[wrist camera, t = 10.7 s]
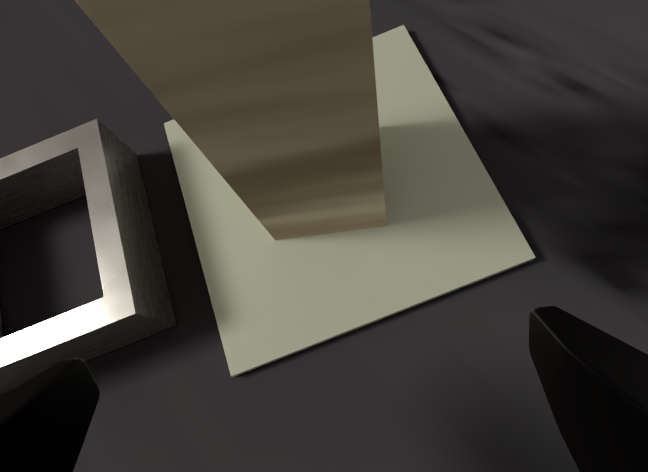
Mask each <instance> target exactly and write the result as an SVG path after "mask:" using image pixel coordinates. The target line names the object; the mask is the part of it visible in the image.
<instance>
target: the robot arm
mask: <svg viewBox="0 0 648 472" xmlns="http://www.w3.org/2000/svg"><path fill="white" fill-rule="evenodd" d="M529 349H530V354H531V357H532V360H533V362H534V365H535V368H536V370H537V373H538V376H539V378H540V381H541V383H542V386H543V389H544V391H545V394H546V397H547V399H548V402H549V405H550V407H551V410H552V412H553V415H554V418H555V420H556V423H557V425H558V428H559V430H560V433H561V435H562V437H563V439H564V441H565V443H566V445H567V447H568V449H569V451H570V453H571V455H572V457H573V459H574V461H575V462H576V464H577V466H578V468H579V470H580V472H648V355H647V354H645V353H643V352H642V351H640V350H638V349H636V348H634V347H632V346H630V345H628V344H626V343H624V342H622V341H621V340H619V339H617V338H615V337H613V336H611V335H609V334H607V333H605V332H603V331H602V330H600V329H598V328H596V327H594V326H592V325H590V324H588V323H586V322H584V321H583V320H581V319H579V318H577V317H575V316H573V315H571V314H569V313H567V312H565V311H563V310H562V309H560V308H558V307H555V306H548V307H539V308H533V309H532V310H531V312H530V320H529ZM98 400H99V387H98V385H97V383H96V381H95V379H94V377H93V375H92V373H91V371H90V369H89V367H88V365H87V363H86V362H85V361H84V360H83V359H80V358H77V359H67V360H62V361H60V362H58V363H56V364H54V365H53V366H51V367H50V368H48V369H46V370H45V371H43V372H41V373H40V374H38V375H37V376H35V377H33V378H32V379H30V380H28V381H27V382H25V383H23V384H22V385H20V386H19V387H17V388H15V389H14V390H12V391H10V392H9V393H7V394H6V395H4V396H2V397H1V398H0V472H73V470H74V467H75V464H76V462H77V459H78V456H79V454H80V451H81V448H82V445H83V442H84V439H85V437H86V434H87V431H88V428H89V425H90V423H91V420H92V417H93V414H94V411H95V409H96V406H97V403H98Z"/></svg>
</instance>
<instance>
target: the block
mask: <svg viewBox="0 0 648 472" xmlns="http://www.w3.org/2000/svg"><path fill="white" fill-rule="evenodd" d="M75 1H76V2H77V4H78V5H79V6H80V7H81V8H82V10H83V11H84V12H85V13H86V14H87V16H88V17H89V18H90V19H91V20H92V22H93V23H94V24H95V25H96V26H97V28H98V29H99V30H100V31H101V32H102V34H103V35H104V36H105V37H106V38H107V40H108V41H109V42H110V43H111V44H112V46H113V47H114V48H115V49H116V50H117V51H118V53H119V54H120V55H121V56H122V57H123V59H124V60H125V61H126V62H127V63H128V65H129V66H130V67H131V68H132V69H133V71H134V72H135V73H136V74H137V75H138V77H139V78H140V79H141V80H142V81H143V83H144V84H145V85H146V86H147V87H148V89H149V90H150V91H151V92H152V93H153V95H154V96H155V97H156V98H157V99H158V101H159V102H160V103H161V104H162V105H163V107H164V108H165V109H166V110H167V111H168V113H169V114H170V115H171V116H172V117H173V119H174V120H175V121H176V122H177V123H178V125H179V126H180V127H181V128H182V129H183V131H184V132H185V133H186V134H187V135H188V137H189V138H190V139H191V140H192V141H193V142H194V144H195V145H196V146H197V147H198V148H199V150H200V151H201V152H202V153H203V154H204V156H205V157H206V158H207V159H208V160H209V162H210V163H211V164H212V165H213V166H214V168H215V169H216V170H217V171H218V172H219V174H220V175H221V176H222V177H223V178H224V180H225V181H226V182H227V183H228V184H229V186H230V187H231V188H232V189H233V190H234V192H235V193H236V194H237V195H238V196H239V198H240V199H241V200H242V201H243V202H244V204H245V205H246V206H247V207H248V208H249V210H250V211H251V212H252V213H253V214H254V216H255V217H256V218H257V219H258V220H259V222H260V223H261V224H262V225H263V226H264V227H265V229H266V230H267V231H268V232H269V233H270V235H271V236H272V237H273V238H274V239H275V240H282V239H290V238H298V237H305V236H313V235H321V234H328V233H336V232H344V231H351V230H359V229H366V228H374V227H382V226H387V223H386V210H385V197H384V184H383V171H382V158H381V145H380V132H379V118H378V105H377V92H376V79H375V66H374V53H373V40H372V27H371V14H370V0H75Z"/></svg>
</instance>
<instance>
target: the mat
mask: <svg viewBox="0 0 648 472" xmlns="http://www.w3.org/2000/svg"><path fill="white" fill-rule="evenodd" d="M372 40H373V53H374V66H375V79H376V92H377V105H378V118H379V132H380V145H381V158H382V171H383V184H384V197H385V210H386V223H387V226H382V227H374V228H366V229H359V230H351V231H344V232H336V233H328V234H321V235H313V236H305V237H298V238H290V239H282V240H275V239H274V238H273V237H272V236H271V235H270V233H269V232H268V231H267V230H266V229H265V227H264V226H263V225H262V224H261V223H260V222H259V220H258V219H257V218H256V217H255V216H254V214H253V213H252V212H251V211H250V210H249V208H248V207H247V206H246V205H245V204H244V202H243V201H242V200H241V199H240V198H239V196H238V195H237V194H236V193H235V192H234V190H233V189H232V188H231V187H230V186H229V184H228V183H227V182H226V181H225V180H224V178H223V177H222V176H221V175H220V174H219V172H218V171H217V170H216V169H215V168H214V166H213V165H212V164H211V163H210V162H209V160H208V159H207V158H206V157H205V156H204V154H203V153H202V152H201V151H200V150H199V148H198V147H197V146H196V145H195V144H194V142H193V141H192V140H191V139H190V138H189V137H188V135H187V134H186V133H185V132H184V131H183V129H182V128H181V127H180V126H179V125H178V123H177V122H176V121H175V120H171V121H169V122H166V123H164V126H165V130H166V134H167V138H168V141H169V145H170V149H171V153H172V156H173V160H174V164H175V168H176V171H177V175H178V179H179V183H180V186H181V190H182V194H183V198H184V201H185V205H186V209H187V213H188V216H189V220H190V224H191V228H192V231H193V235H194V239H195V243H196V246H197V250H198V254H199V258H200V261H201V265H202V269H203V273H204V276H205V280H206V284H207V288H208V291H209V295H210V299H211V303H212V306H213V310H214V314H215V318H216V321H217V325H218V329H219V333H220V337H221V340H222V344H223V348H224V352H225V355H226V359H227V363H228V367H229V370H230V374H231V376H233V377H235V376H238V375H240V374H243V373H245V372H248V371H251V370H253V369H256V368H258V367H261V366H263V365H266V364H268V363H271V362H274V361H276V360H279V359H281V358H284V357H286V356H289V355H291V354H294V353H297V352H299V351H302V350H304V349H307V348H309V347H312V346H315V345H317V344H320V343H322V342H325V341H327V340H330V339H332V338H335V337H338V336H340V335H343V334H345V333H348V332H350V331H353V330H355V329H358V328H361V327H363V326H366V325H368V324H371V323H373V322H376V321H378V320H381V319H384V318H386V317H389V316H391V315H394V314H396V313H399V312H401V311H404V310H407V309H409V308H412V307H414V306H417V305H419V304H422V303H425V302H427V301H430V300H432V299H435V298H437V297H440V296H442V295H445V294H448V293H450V292H453V291H455V290H458V289H460V288H463V287H465V286H468V285H471V284H473V283H476V282H478V281H481V280H483V279H486V278H488V277H491V276H494V275H496V274H499V273H501V272H504V271H506V270H509V269H511V268H514V267H517V266H519V265H522V264H524V263H527V262H529V261H532V260H533V259H534V258H535V255H534V253H533V252H532V250H531V248H530V246H529V245H528V243H527V241H526V239H525V238H524V236H523V234H522V232H521V231H520V229H519V227H518V225H517V224H516V222H515V220H514V218H513V217H512V215H511V213H510V211H509V209H508V208H507V206H506V204H505V202H504V201H503V199H502V197H501V195H500V194H499V192H498V190H497V188H496V187H495V185H494V183H493V181H492V180H491V178H490V176H489V174H488V172H487V171H486V169H485V167H484V165H483V164H482V162H481V160H480V158H479V157H478V155H477V153H476V151H475V150H474V148H473V146H472V144H471V143H470V141H469V139H468V137H467V136H466V134H465V132H464V130H463V128H462V127H461V125H460V123H459V121H458V120H457V118H456V116H455V114H454V113H453V111H452V109H451V107H450V106H449V104H448V102H447V100H446V99H445V97H444V95H443V93H442V92H441V90H440V88H439V86H438V84H437V83H436V81H435V79H434V77H433V76H432V74H431V72H430V70H429V69H428V67H427V65H426V63H425V62H424V60H423V58H422V56H421V55H420V53H419V51H418V49H417V47H416V46H415V44H414V42H413V40H412V39H411V37H410V35H409V33H408V32H407V30H406V28H405V26H404V25H402V26H400V27H397V28H395V29H393V30H390V31H388V32H385V33H383V34H380V35H378V36H375V37H373V38H372Z"/></svg>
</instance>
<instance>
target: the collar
mask: <svg viewBox="0 0 648 472" xmlns="http://www.w3.org/2000/svg"><path fill="white" fill-rule="evenodd" d="M84 195H86V197H87V203H88V209H89V214H90V220H91V226H92V232H93V237H94V243H95V249H96V255H97V260H98V266H99V272H100V277H101V283H102V289H103V295H104V297H103V298H100V299H98V300H95V301H93V302H90V303H88V304H85V305H83V306H80V307H78V308H75V309H73V310H70V311H68V312H65V313H63V314H60V315H58V316H55V317H53V318H50V319H48V320H45V321H43V322H40V323H38V324H35V325H33V326H30V327H28V328H25V329H23V330H20V331H18V332H15V333H13V334H10V335H8V336H5V337H3V330H2V318H1V306H0V395H2V394H4V393H7V392H9V391H12V390H14V389H15V388H17V387H19V386H20V385H22V384H23V383H25V382H27V381H28V380H30V379H32V378H33V377H35V376H37V375H38V374H40V373H41V372H43V371H45V370H46V369H48V368H50V367H51V366H53V365H54V364H56V363H58V362H60V361H62V360H67V359H77V358H80V359H83V360H84V361H87V360H90V359H92V358H95V357H98V356H100V355H103V354H105V353H108V352H110V351H113V350H115V349H118V348H120V347H123V346H125V345H128V344H130V343H133V342H135V341H138V340H140V339H143V338H145V337H148V336H151V335H153V334H156V333H158V332H161V331H163V330H166V329H168V328H171V327H173V326H176V325H177V324H176V320H175V316H174V311H173V307H172V303H171V299H170V294H169V290H168V286H167V281H166V277H165V273H164V268H163V264H162V260H161V255H160V251H159V247H158V242H157V238H156V234H155V230H154V225H153V221H152V217H151V212H150V208H149V204H148V199H147V195H146V191H145V186H144V182H143V178H142V173H141V169H140V165H139V161H138V156H137V154H136V153H135V152H133V151H132V150H131V149H130V148H129V147H128V146H127V145H126V144H125V143H123V142H122V141H121V140H120V139H119V138H118V137H117V136H116V135H114V134H113V133H112V132H111V131H110V130H109V129H108V128H107V127H105V126H104V125H103V124H102V123H101V122H100V121H99V120H98V119H95V120H93V121H90V122H88V123H85V124H83V125H80V126H78V127H76V128H73V129H71V130H68V131H66V132H64V133H61V134H59V135H56V136H54V137H51V138H49V139H47V140H44V141H42V142H39V143H37V144H35V145H32V146H30V147H27V148H25V149H22V150H20V151H18V152H15V153H13V154H10V155H8V156H6V157H3V158H1V159H0V230H1V229H4V228H6V227H8V226H11V225H13V224H16V223H18V222H21V221H23V220H26V219H28V218H30V217H33V216H35V215H38V214H40V213H43V212H45V211H48V210H50V209H52V208H55V207H57V206H60V205H62V204H65V203H67V202H70V201H72V200H75V199H77V198H79V197H82V196H84Z"/></svg>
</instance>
